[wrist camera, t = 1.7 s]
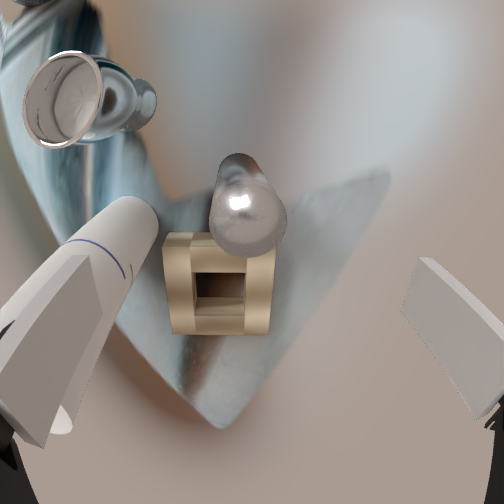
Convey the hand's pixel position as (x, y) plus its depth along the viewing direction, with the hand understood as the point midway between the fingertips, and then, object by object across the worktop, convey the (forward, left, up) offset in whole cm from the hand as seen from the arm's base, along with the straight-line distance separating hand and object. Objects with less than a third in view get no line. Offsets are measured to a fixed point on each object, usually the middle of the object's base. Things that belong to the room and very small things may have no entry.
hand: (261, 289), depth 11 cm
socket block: (+13, -2, -22) cm, 26 cm away
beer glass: (-8, -12, -23) cm, 27 cm away
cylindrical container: (+6, -13, -23) cm, 27 cm away
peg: (0, 0, -23) cm, 23 cm away
